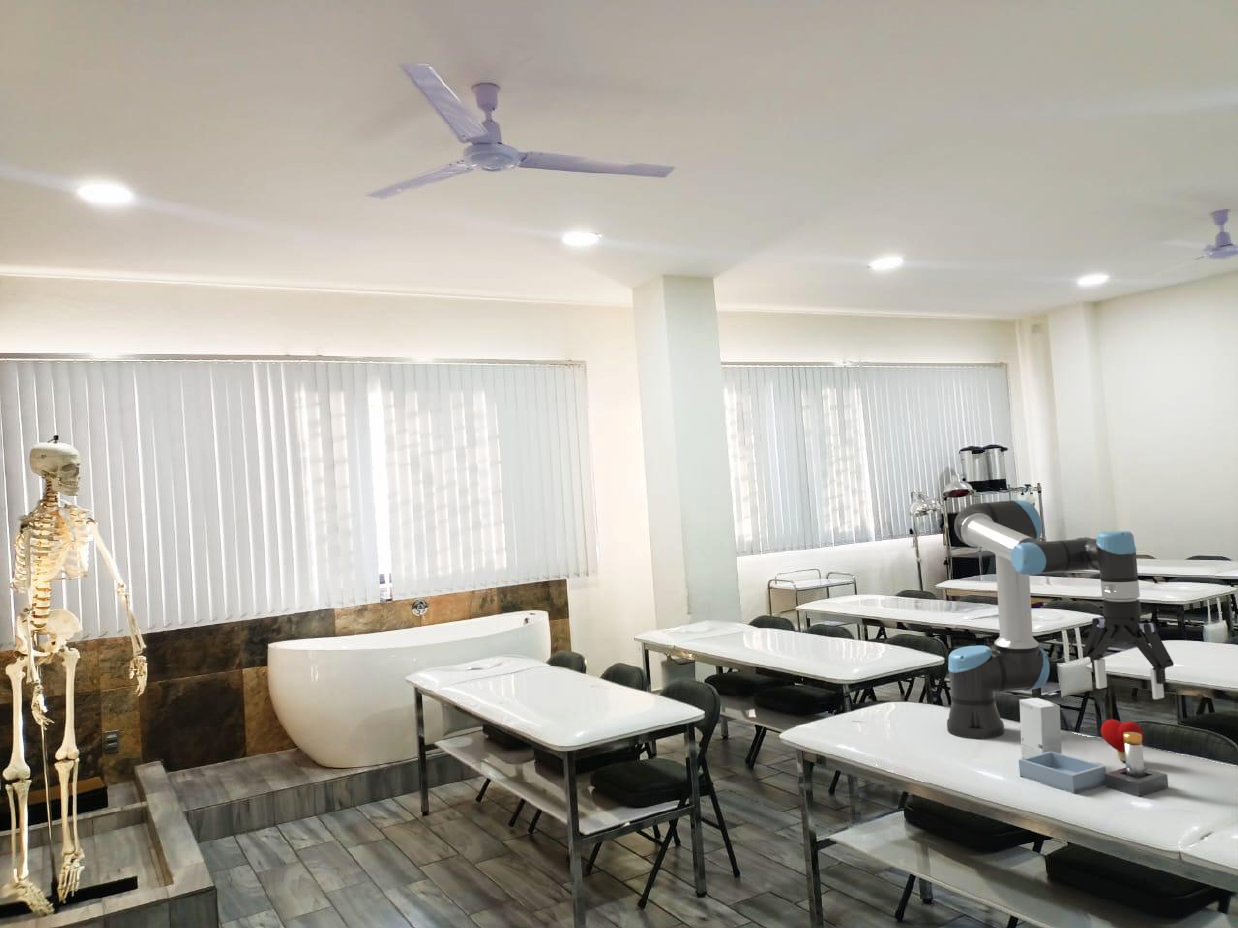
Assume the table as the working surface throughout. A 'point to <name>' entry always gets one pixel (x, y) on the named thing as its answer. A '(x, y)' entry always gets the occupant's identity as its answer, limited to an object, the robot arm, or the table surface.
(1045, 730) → the skincare box
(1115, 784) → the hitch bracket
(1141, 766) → the copper top battery
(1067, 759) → the tray
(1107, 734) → the red heart shape
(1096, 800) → the table surface
